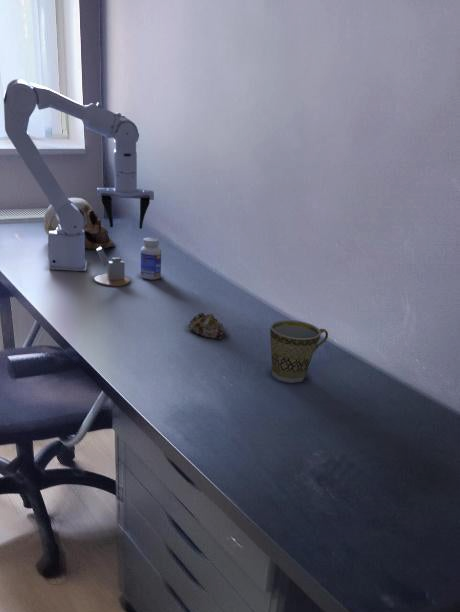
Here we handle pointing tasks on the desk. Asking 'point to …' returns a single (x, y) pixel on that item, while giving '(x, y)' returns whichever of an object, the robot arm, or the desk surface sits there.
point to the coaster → (105, 281)
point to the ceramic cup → (293, 348)
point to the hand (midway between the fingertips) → (126, 227)
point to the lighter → (112, 266)
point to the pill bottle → (150, 259)
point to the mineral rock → (207, 326)
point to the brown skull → (92, 227)
